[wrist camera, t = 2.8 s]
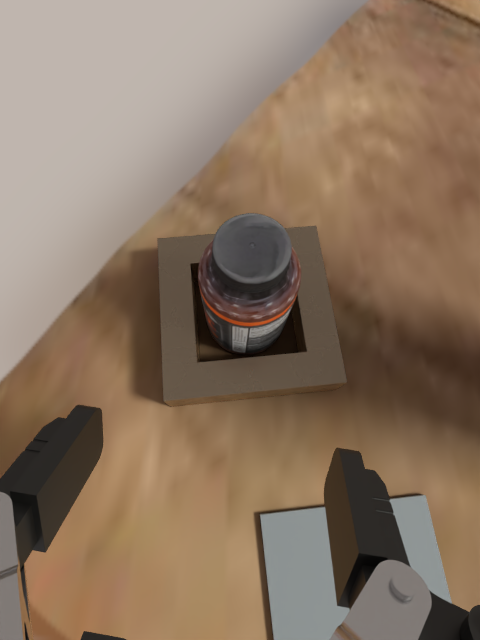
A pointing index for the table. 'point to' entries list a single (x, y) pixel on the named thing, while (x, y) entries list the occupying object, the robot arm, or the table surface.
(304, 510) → the slate mat
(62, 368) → the table surface
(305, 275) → the socket block
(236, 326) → the supplement bottle
